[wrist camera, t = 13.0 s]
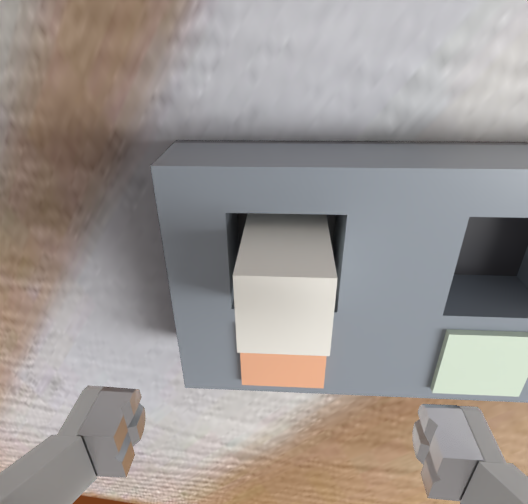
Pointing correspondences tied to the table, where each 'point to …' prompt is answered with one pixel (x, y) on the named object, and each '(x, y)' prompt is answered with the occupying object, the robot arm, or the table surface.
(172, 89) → the table surface
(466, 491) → the robot arm
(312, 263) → the plug
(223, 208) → the socket block
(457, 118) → the table surface
